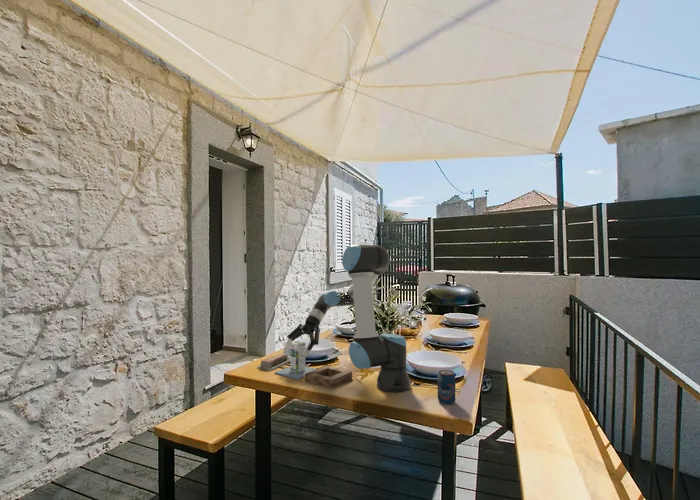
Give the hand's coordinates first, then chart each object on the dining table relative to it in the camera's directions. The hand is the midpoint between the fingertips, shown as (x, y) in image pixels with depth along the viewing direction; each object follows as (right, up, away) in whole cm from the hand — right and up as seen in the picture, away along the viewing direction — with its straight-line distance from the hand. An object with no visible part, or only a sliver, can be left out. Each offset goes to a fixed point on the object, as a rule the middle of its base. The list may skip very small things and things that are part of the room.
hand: (294, 353), depth 176 cm
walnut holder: (+18, -10, -10) cm, 23 cm away
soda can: (+67, -9, -36) cm, 76 cm away
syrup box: (+1, -10, +1) cm, 10 cm away
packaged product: (-13, -11, +14) cm, 22 cm away
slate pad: (+1, -10, +1) cm, 10 cm away
